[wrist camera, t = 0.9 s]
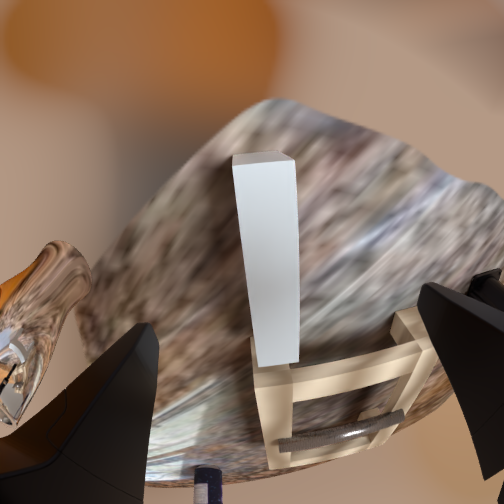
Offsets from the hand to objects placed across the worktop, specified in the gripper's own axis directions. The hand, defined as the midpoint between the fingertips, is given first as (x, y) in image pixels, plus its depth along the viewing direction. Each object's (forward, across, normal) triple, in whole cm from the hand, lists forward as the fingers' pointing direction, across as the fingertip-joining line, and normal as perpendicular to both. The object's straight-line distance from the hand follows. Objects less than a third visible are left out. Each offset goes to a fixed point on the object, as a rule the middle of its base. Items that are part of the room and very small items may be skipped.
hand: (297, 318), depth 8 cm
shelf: (+12, -7, +24) cm, 28 cm away
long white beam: (+12, 0, +3) cm, 13 cm away
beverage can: (+12, +15, +52) cm, 56 cm away
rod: (+7, -7, +24) cm, 26 cm away
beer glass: (+12, +18, +3) cm, 22 cm away
